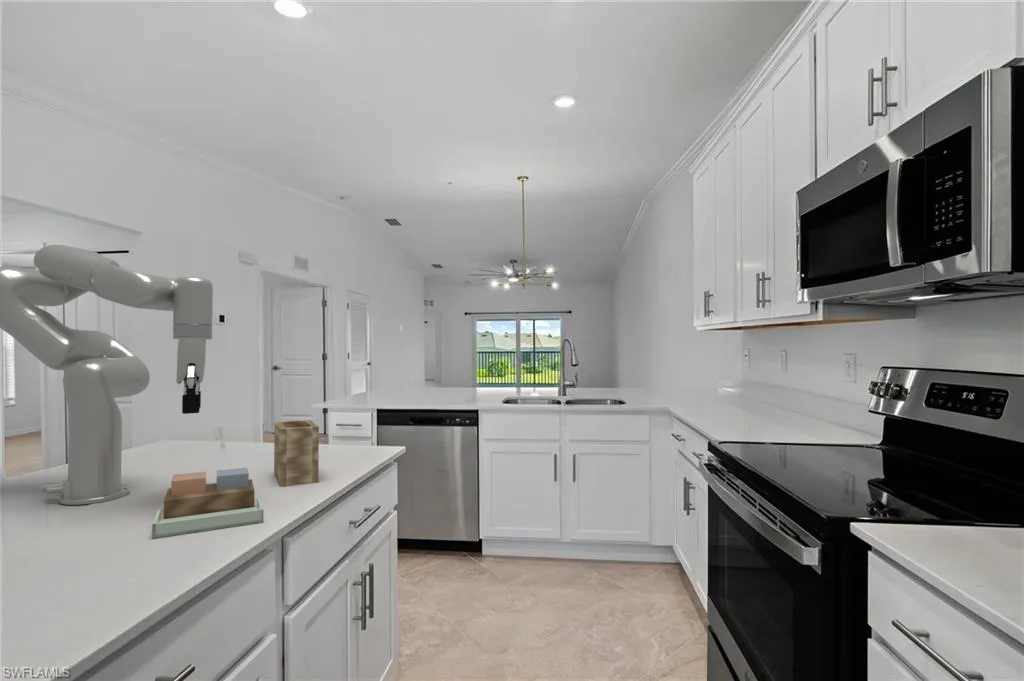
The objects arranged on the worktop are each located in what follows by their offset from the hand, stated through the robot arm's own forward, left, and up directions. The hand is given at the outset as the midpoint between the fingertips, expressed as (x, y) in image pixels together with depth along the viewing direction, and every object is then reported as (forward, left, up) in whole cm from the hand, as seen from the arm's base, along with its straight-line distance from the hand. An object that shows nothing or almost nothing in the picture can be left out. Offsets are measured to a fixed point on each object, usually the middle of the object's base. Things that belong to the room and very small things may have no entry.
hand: (191, 410), depth 117 cm
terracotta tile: (0, -8, -16) cm, 18 cm away
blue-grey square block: (+8, -8, -16) cm, 20 cm away
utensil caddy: (+23, +9, -20) cm, 32 cm away
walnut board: (+4, -9, -20) cm, 22 cm away
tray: (+4, -19, -20) cm, 28 cm away
